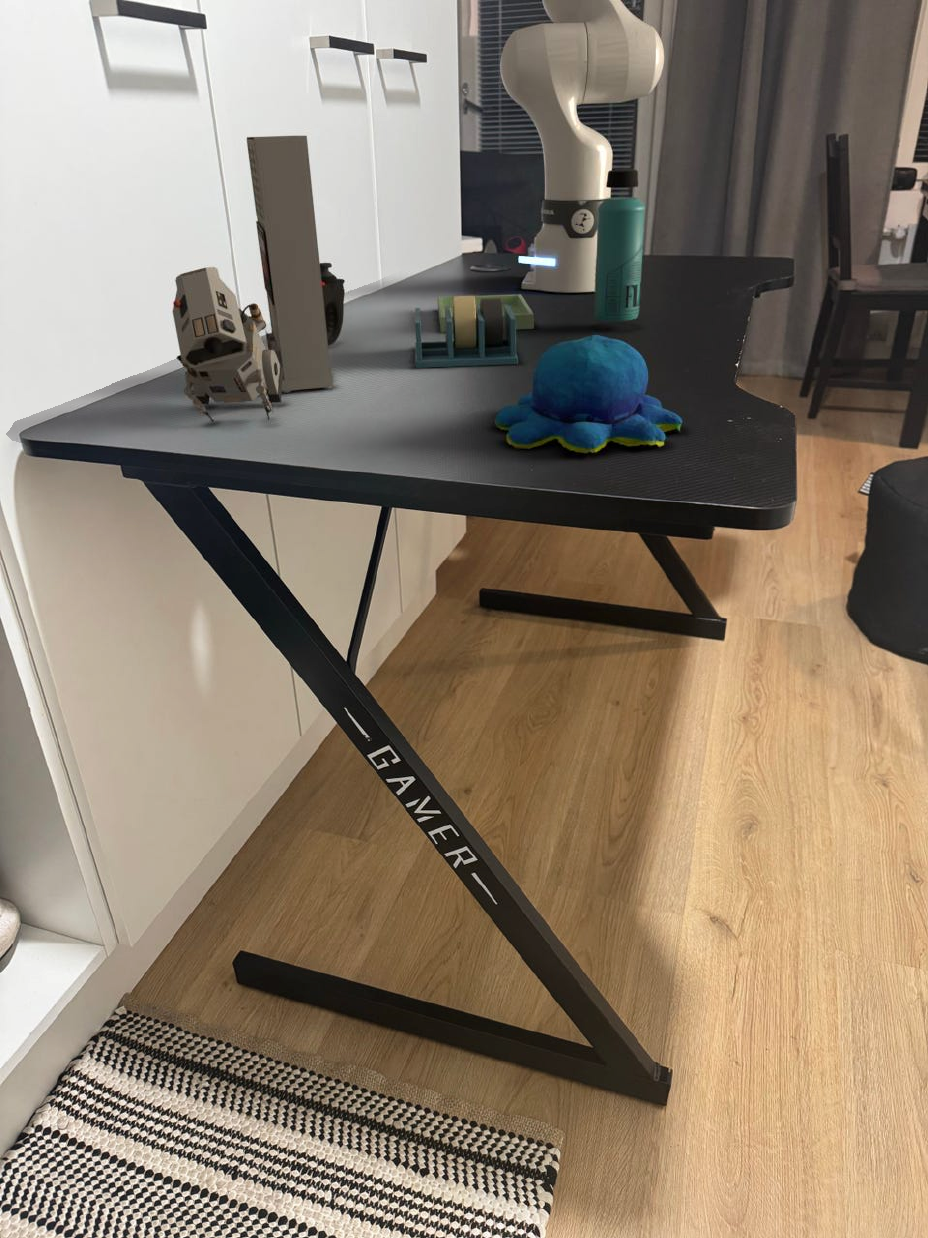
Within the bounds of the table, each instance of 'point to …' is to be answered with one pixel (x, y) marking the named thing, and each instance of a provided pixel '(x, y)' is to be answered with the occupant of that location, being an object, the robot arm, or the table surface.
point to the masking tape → (464, 322)
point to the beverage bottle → (619, 251)
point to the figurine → (222, 344)
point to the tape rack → (479, 356)
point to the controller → (332, 302)
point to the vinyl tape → (492, 321)
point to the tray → (513, 301)
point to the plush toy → (588, 400)
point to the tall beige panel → (290, 259)
